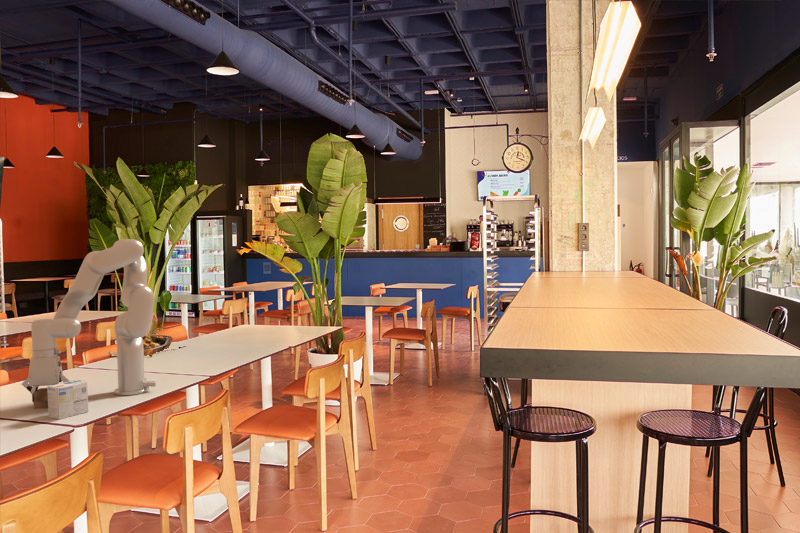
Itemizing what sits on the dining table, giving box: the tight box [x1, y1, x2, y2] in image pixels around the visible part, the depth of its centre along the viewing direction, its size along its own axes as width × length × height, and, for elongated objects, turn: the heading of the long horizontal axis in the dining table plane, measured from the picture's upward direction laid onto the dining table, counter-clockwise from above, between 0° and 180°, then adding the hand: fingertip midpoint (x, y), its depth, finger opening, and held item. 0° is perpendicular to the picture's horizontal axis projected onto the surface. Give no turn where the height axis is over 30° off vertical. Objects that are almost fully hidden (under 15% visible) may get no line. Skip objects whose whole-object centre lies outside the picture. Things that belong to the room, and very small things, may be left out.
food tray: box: [108, 333, 175, 358], centre depth 332 cm, size 35×26×11 cm
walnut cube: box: [33, 387, 48, 410], centre depth 219 cm, size 6×6×6 cm
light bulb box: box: [46, 379, 89, 420], centre depth 207 cm, size 11×7×11 cm, turn 149°
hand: (46, 402), depth 219 cm, fingers closed on walnut cube, 6 cm apart
